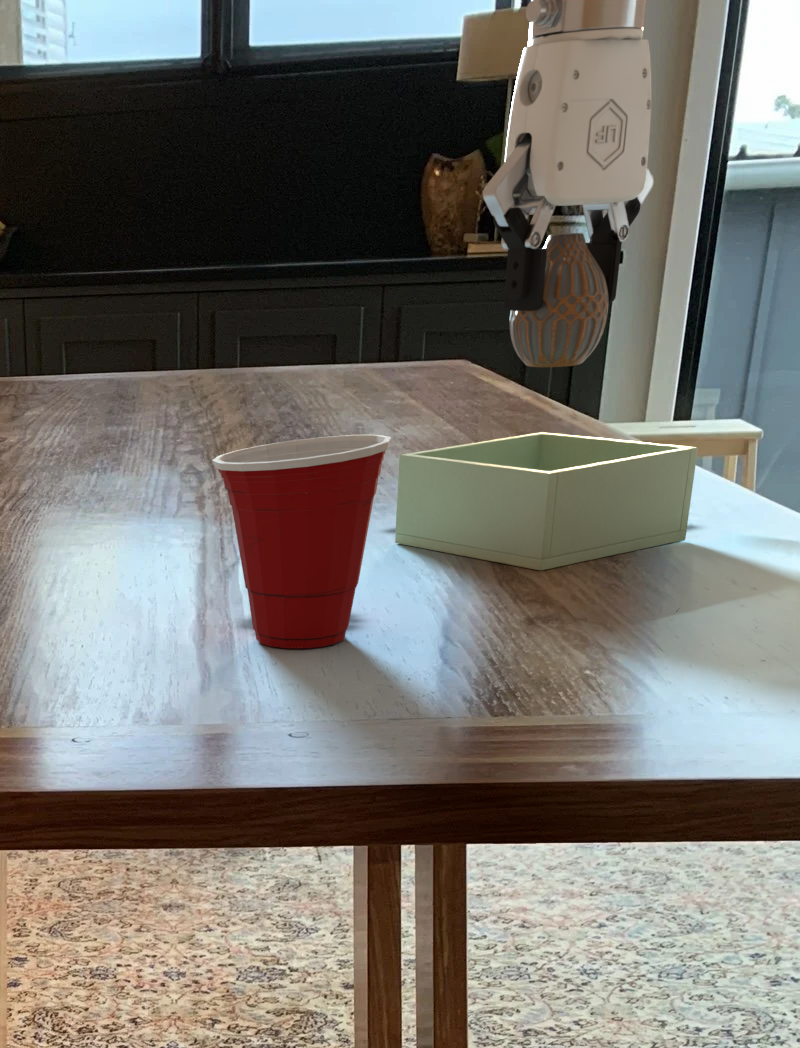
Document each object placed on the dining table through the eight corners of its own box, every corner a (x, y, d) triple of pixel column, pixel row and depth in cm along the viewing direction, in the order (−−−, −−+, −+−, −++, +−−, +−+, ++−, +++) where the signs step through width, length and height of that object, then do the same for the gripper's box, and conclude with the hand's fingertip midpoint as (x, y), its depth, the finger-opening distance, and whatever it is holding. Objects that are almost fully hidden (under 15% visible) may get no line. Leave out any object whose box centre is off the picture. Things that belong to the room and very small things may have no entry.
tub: (533, 516, 130) (541, 431, 127) (685, 540, 118) (698, 447, 115) (394, 543, 124) (399, 454, 120) (540, 571, 111) (549, 473, 108)
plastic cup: (247, 614, 105) (248, 429, 99) (402, 623, 100) (413, 429, 95) (187, 653, 97) (184, 454, 91) (353, 665, 92) (361, 455, 86)
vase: (565, 358, 118) (577, 231, 114) (621, 363, 112) (637, 230, 108) (487, 365, 117) (497, 237, 112) (540, 371, 111) (553, 236, 107)
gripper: (536, 12, 98) (511, 316, 106) (718, 12, 105) (681, 297, 113) (453, 27, 104) (435, 315, 112) (630, 26, 111) (601, 296, 119)
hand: (559, 303), depth 113 cm, fingers closed on vase, 6 cm apart
